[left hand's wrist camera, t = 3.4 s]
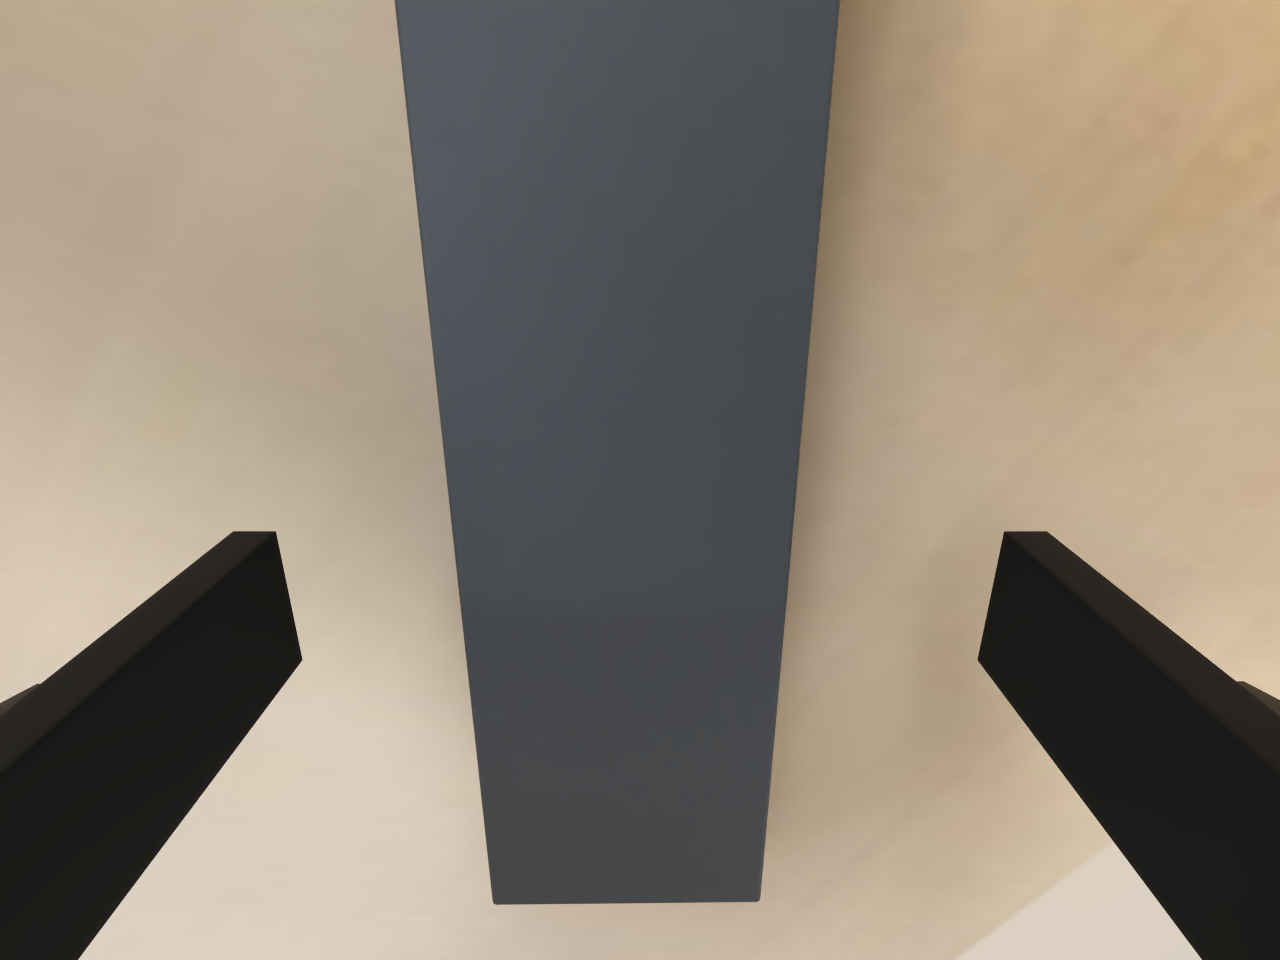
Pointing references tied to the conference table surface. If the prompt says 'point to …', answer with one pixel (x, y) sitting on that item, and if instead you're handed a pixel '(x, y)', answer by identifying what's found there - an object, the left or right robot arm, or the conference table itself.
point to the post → (621, 413)
